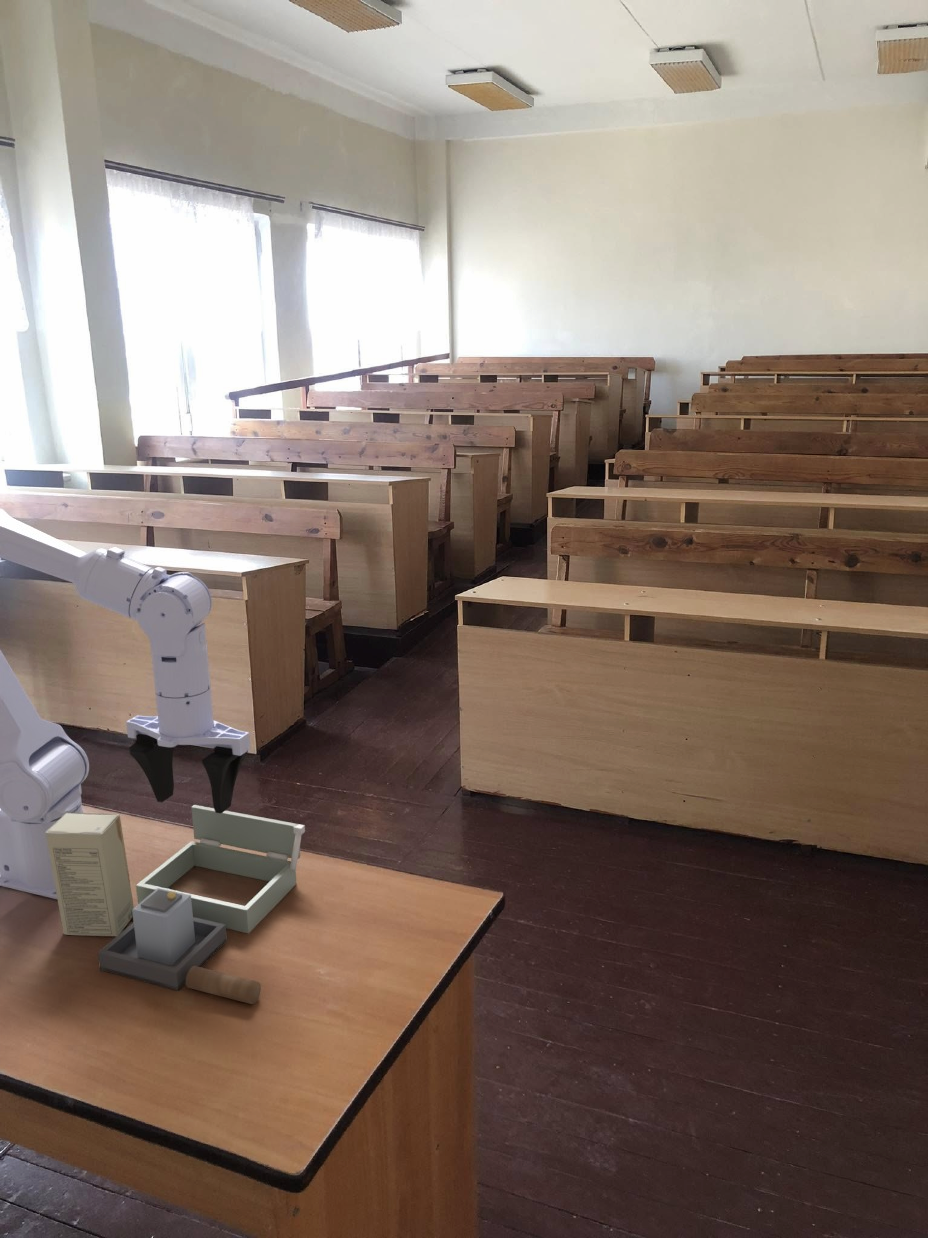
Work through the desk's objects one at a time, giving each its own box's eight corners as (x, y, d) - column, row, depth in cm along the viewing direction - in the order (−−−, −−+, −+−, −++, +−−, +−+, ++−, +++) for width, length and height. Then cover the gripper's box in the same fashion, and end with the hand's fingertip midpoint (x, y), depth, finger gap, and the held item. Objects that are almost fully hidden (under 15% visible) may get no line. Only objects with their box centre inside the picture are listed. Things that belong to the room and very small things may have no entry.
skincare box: (136, 914, 101) (124, 813, 98) (118, 938, 97) (104, 833, 94) (79, 911, 102) (65, 810, 99) (59, 935, 98) (43, 831, 95)
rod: (186, 992, 89) (184, 974, 89) (199, 979, 91) (197, 961, 90) (250, 1009, 87) (248, 991, 86) (261, 995, 89) (260, 977, 88)
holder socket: (100, 970, 92) (97, 952, 92) (153, 923, 100) (151, 907, 99) (178, 990, 89) (176, 973, 89) (226, 941, 97) (225, 924, 96)
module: (137, 957, 94) (131, 903, 92) (162, 934, 97) (157, 882, 96) (171, 965, 92) (165, 911, 91) (195, 942, 96) (190, 889, 94)
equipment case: (138, 907, 103) (131, 851, 101) (199, 857, 113) (194, 804, 111) (255, 935, 98) (250, 876, 96) (307, 879, 108) (304, 825, 106)
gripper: (102, 693, 99) (116, 809, 103) (219, 710, 94) (229, 831, 98) (145, 672, 105) (157, 782, 109) (257, 687, 100) (265, 801, 104)
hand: (193, 803), depth 104 cm, fingers open, 7 cm apart
